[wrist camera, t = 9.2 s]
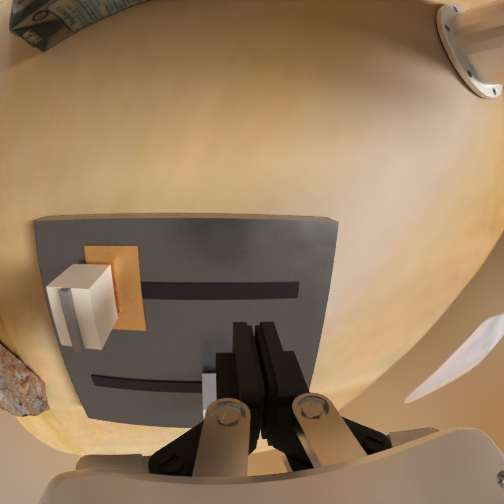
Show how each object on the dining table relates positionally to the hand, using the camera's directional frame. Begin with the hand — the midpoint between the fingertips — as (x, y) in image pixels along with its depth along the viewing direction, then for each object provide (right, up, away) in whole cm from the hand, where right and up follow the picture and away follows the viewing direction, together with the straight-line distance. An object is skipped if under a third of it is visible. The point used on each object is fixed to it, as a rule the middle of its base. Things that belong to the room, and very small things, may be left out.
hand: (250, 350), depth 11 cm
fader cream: (-11, +1, +6) cm, 12 cm away
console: (-6, -3, +10) cm, 12 cm away
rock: (-27, -10, +10) cm, 30 cm away
